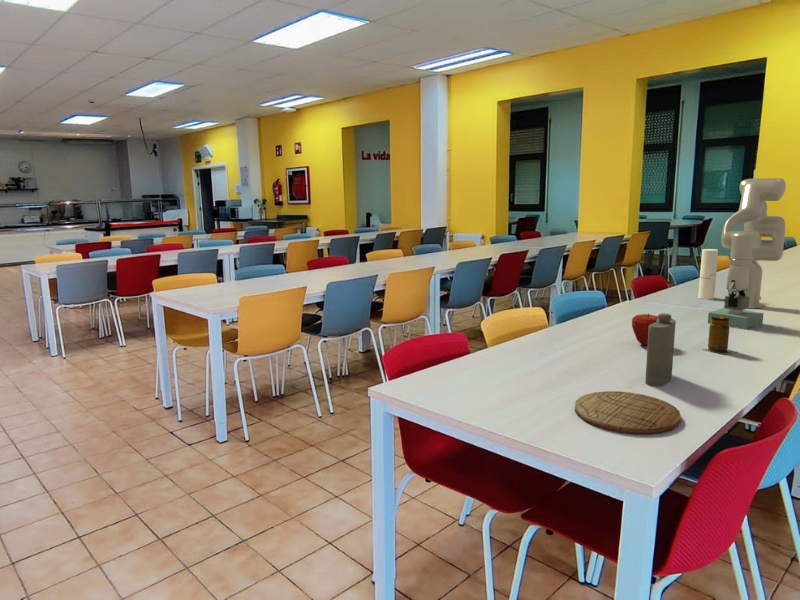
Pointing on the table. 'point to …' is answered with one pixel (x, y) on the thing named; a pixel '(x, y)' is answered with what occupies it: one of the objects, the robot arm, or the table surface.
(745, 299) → the plug
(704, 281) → the cylindrical container
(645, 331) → the apple
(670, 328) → the flask
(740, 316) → the socket
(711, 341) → the condiment
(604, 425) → the trivet
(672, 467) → the table surface
